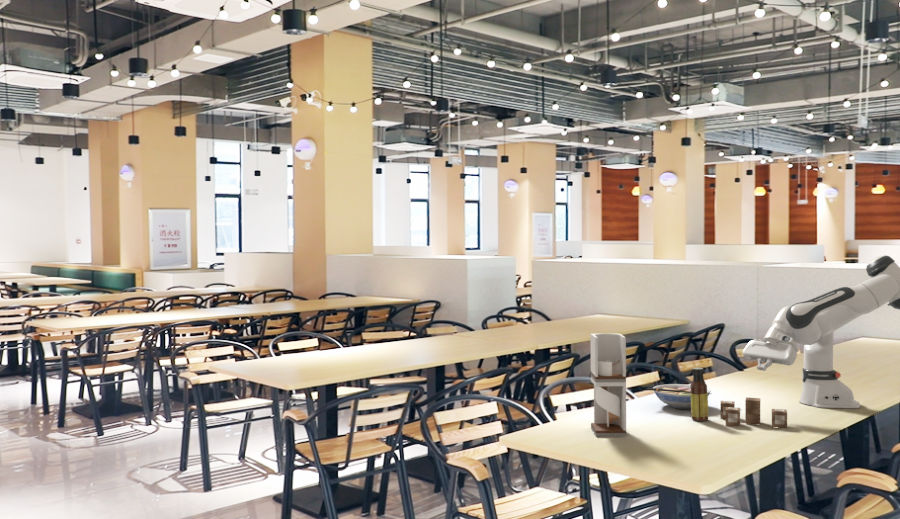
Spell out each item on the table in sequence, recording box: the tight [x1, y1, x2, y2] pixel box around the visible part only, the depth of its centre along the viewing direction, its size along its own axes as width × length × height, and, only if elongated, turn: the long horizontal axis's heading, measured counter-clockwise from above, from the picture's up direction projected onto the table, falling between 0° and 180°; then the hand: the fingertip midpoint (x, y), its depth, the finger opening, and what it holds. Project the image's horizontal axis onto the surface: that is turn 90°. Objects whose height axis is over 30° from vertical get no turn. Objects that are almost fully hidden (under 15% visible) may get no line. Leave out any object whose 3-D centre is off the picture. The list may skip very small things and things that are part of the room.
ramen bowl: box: [646, 383, 712, 410], centre depth 319 cm, size 25×23×8 cm
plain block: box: [744, 397, 761, 425], centre depth 291 cm, size 5×5×9 cm
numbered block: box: [771, 408, 788, 429], centre depth 285 cm, size 5×5×6 cm
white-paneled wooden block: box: [725, 407, 741, 427], centre depth 289 cm, size 5×5×6 cm
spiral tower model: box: [589, 332, 627, 437], centre depth 279 cm, size 11×11×35 cm
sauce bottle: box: [689, 367, 709, 422], centre depth 296 cm, size 6×6×20 cm
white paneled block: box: [720, 400, 736, 420], centre depth 300 cm, size 5×5×6 cm
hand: (760, 369), depth 297 cm, fingers closed
